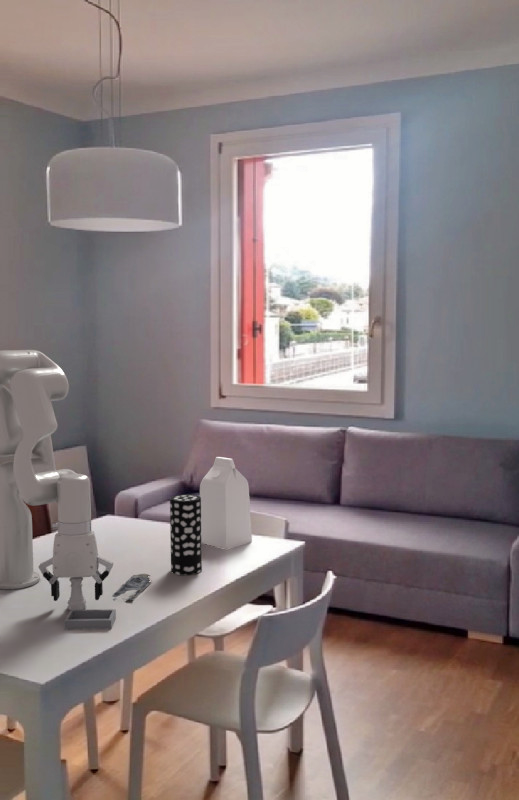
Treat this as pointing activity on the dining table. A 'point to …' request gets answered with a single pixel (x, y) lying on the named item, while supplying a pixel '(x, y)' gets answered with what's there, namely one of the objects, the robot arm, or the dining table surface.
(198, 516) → the white-spotted black cylinder
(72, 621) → the gray rectangular open tray
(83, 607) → the rook chess piece
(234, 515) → the milk
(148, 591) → the dining table surface
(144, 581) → the driftwood
